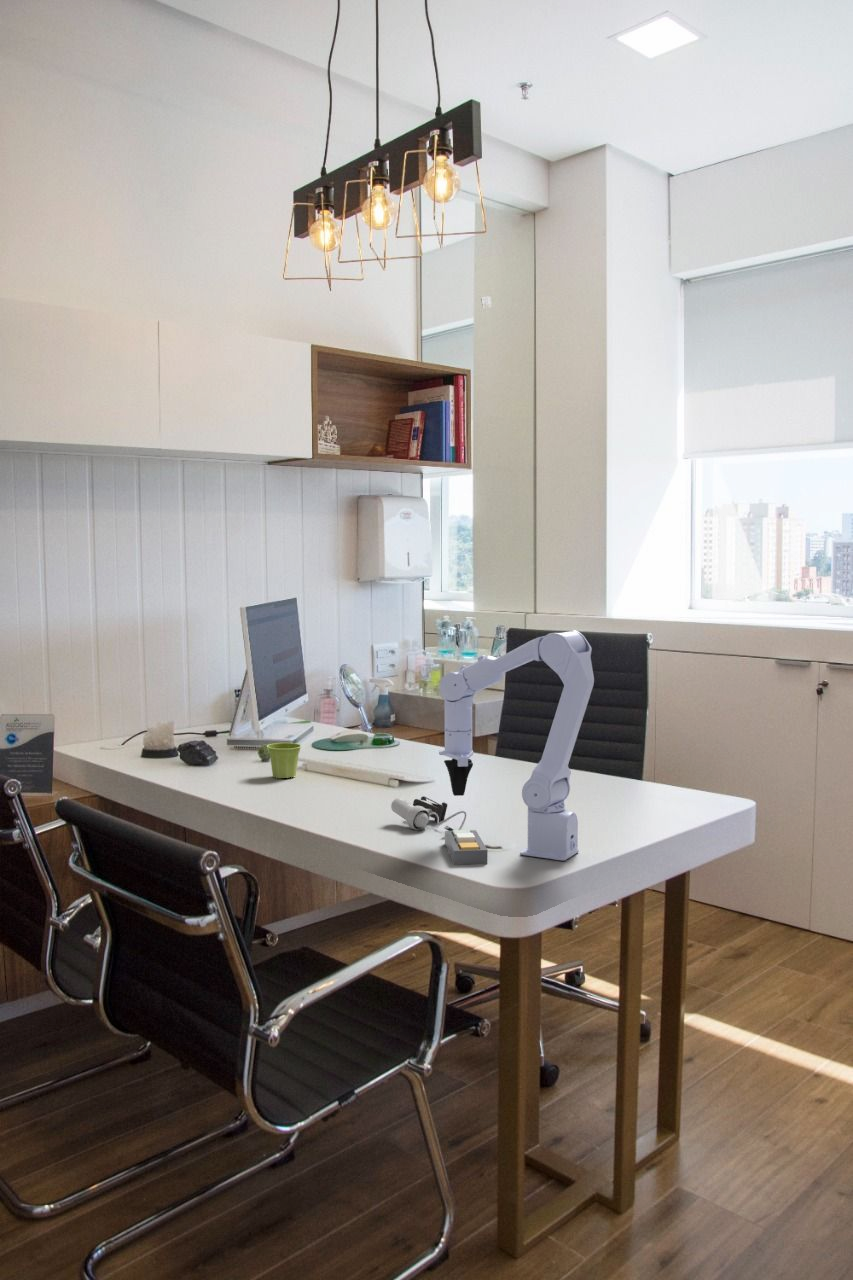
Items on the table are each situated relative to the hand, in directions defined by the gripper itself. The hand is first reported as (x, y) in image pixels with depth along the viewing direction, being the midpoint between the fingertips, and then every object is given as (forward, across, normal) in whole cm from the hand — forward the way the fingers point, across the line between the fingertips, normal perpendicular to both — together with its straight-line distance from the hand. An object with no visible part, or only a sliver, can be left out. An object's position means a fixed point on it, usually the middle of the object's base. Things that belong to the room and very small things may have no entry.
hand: (458, 794), depth 218 cm
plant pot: (+10, -71, -38) cm, 81 cm away
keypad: (+9, +10, 0) cm, 14 cm away
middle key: (+8, +10, 0) cm, 13 cm away
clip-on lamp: (+10, -12, -4) cm, 16 cm away
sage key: (+8, +5, 0) cm, 10 cm away
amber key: (+8, +15, 0) cm, 17 cm away
